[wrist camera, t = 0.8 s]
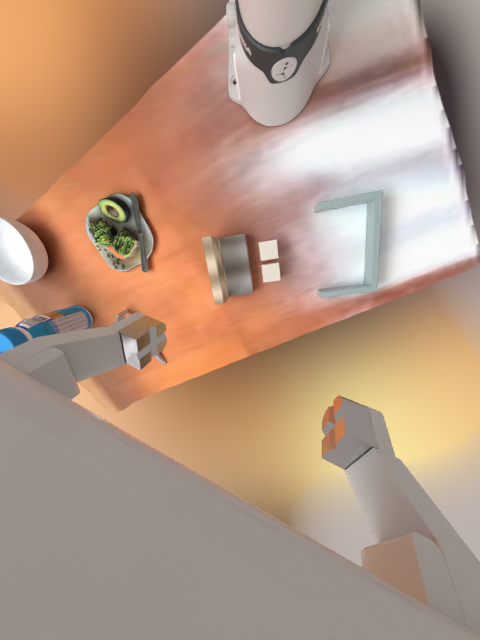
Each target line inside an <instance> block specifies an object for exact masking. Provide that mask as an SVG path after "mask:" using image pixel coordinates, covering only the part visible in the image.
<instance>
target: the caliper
mask: <svg viewBox="0 0 480 640" xmlns="http://www.w3.org/2000/svg"><path fill="white" fill-rule="evenodd" d="M128 311H129V310H125V311H123V312H120V313H119V314H118V315H117V316H116V317H115V318H116V320H115V321H118V320H119V321H120V320H122V319H124V318H125V317H124V315H125V314H126V313H127V312H128ZM154 357H155V358H156V359H157V360H158V361H159V362H160V363H163V364H166V363H167V362H166V361H165V359H164V358H163V357H162V355H161V354H159V355H156V356H154Z"/></svg>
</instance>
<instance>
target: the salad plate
mask: <svg viewBox="0 0 480 640" xmlns="http://www.w3.org/2000/svg"><path fill="white" fill-rule="evenodd" d="M102 220H103V221H102ZM85 223H86V231H87V234H88V236H89V237H90V239H91V241H92V242H93V244H94V245H95V246H96V248H97V249H98V251H99V252H100V253H101V255H102V257H103V258H104V260H105V261H106V262H107V264H108V265H109V266H110V267H112V268H113V269H115V270H119V271H122V272H125V271H128V270H130V269H132V268H134V267H136V266H137V265H140V264H141V265H142V271H144V272H148V271H149V267H148V258H149V257H150V255H151V253H152V251H153V244H154V239H153V235H152V233H151V230H150V228H149V226H148V225H147V223H146V221H145V220H144V218H143V216H142V215H141V212H140V208H139V203H138V200H137V197H136V195H135V194H134V193H133V192H132V193H131V194H130V196H126V195H123V194H119V193H117V194H112V195H110V196H108V197H107V198H104V199H101V200H100V201H99V202H98V205H96V206H95V207H94V208H93V209H92V210H91V211H90V212H89V213H88V214H87V216H86V221H85ZM136 231H137V232H138V233H136ZM117 232H118V233H117ZM108 246H111V247H112V248H113V249H114V250H115V251H116V252H117V253H118V254H119V255H122V256H124V257H127V258H126V259H125V260H123V259H120V258H118V257H116V256H114V255H113V254H112V253H111V252H110V251H109V250H108V248H107V247H108Z"/></svg>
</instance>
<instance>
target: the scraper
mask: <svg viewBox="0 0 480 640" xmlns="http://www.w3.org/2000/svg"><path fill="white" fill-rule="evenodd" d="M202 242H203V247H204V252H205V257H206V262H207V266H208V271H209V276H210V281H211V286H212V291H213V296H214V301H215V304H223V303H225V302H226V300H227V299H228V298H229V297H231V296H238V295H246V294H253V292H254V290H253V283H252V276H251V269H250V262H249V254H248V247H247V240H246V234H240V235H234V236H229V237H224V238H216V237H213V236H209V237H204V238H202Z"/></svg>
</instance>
